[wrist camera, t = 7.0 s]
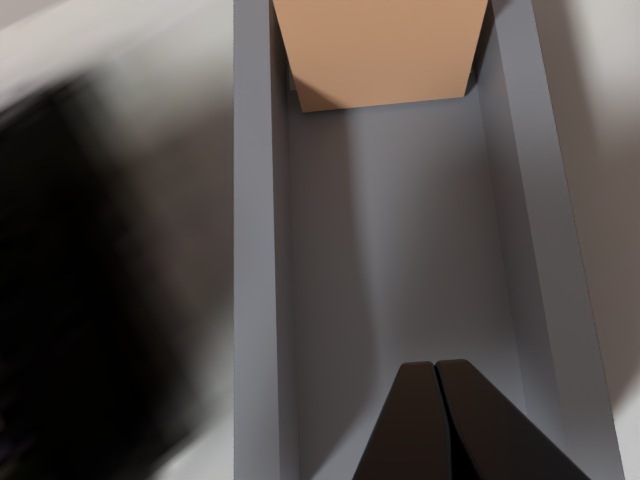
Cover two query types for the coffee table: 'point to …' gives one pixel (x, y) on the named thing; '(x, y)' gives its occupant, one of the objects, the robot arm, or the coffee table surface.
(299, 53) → the terracotta block
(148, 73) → the coffee table surface
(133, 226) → the coffee table surface
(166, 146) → the coffee table surface
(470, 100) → the charcoal chute
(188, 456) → the coffee table surface
